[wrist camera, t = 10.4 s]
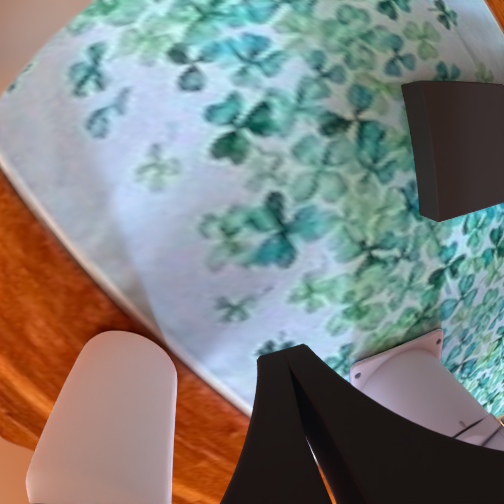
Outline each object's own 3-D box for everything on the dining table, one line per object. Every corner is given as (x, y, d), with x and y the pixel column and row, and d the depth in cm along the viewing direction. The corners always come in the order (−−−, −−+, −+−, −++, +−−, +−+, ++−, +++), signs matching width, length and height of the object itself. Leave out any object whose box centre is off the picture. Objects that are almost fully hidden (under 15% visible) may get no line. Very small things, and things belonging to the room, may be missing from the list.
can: (138, 309, 17) (82, 496, 6) (197, 385, 20) (203, 558, 8) (63, 349, 18) (-10, 498, 6) (122, 414, 20) (97, 560, 8)
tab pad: (510, 189, 19) (528, 194, 17) (419, 215, 18) (438, 222, 16) (499, 87, 16) (518, 86, 14) (400, 84, 15) (419, 80, 13)
